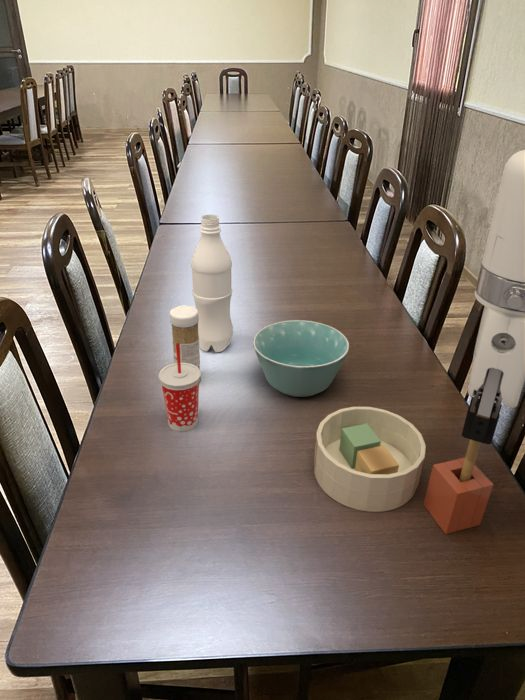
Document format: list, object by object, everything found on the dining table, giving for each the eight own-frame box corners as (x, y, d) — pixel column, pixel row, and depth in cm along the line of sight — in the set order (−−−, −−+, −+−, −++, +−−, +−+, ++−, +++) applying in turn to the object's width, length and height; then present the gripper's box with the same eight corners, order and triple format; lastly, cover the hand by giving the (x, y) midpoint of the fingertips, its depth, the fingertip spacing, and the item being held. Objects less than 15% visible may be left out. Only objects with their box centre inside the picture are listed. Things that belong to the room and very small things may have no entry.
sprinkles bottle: (173, 374, 94) (168, 305, 87) (199, 371, 95) (196, 303, 88) (176, 389, 90) (171, 318, 83) (203, 385, 91) (200, 315, 84)
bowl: (235, 374, 95) (235, 333, 90) (306, 349, 102) (309, 311, 98) (287, 422, 83) (290, 378, 79) (363, 390, 91) (369, 349, 87)
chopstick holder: (455, 496, 71) (467, 456, 67) (480, 525, 67) (493, 484, 63) (423, 504, 70) (433, 464, 66) (445, 534, 66) (457, 493, 62)
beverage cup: (160, 413, 85) (152, 336, 77) (198, 406, 86) (194, 330, 79) (166, 438, 80) (159, 358, 72) (207, 430, 81) (203, 351, 74)
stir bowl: (385, 430, 82) (390, 399, 79) (438, 498, 71) (447, 464, 67) (298, 449, 78) (301, 416, 75) (340, 523, 67) (345, 488, 64)
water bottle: (194, 337, 105) (186, 211, 92) (230, 335, 106) (228, 210, 93) (196, 357, 99) (189, 225, 86) (235, 354, 100) (234, 223, 87)
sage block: (364, 444, 78) (367, 423, 76) (377, 463, 75) (381, 441, 73) (339, 450, 77) (341, 428, 75) (351, 468, 74) (354, 446, 72)
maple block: (380, 467, 74) (384, 444, 72) (394, 487, 71) (399, 465, 69) (353, 472, 73) (357, 450, 71) (367, 494, 70) (371, 471, 68)
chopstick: (457, 506, 68) (489, 390, 59) (463, 513, 67) (496, 396, 58) (449, 508, 68) (480, 392, 59) (454, 515, 67) (487, 398, 58)
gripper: (559, 329, 44) (505, 490, 54) (563, 266, 56) (518, 407, 66) (464, 310, 47) (429, 466, 57) (488, 254, 59) (455, 390, 69)
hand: (477, 433), depth 61 cm, fingers closed on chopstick, 1 cm apart
